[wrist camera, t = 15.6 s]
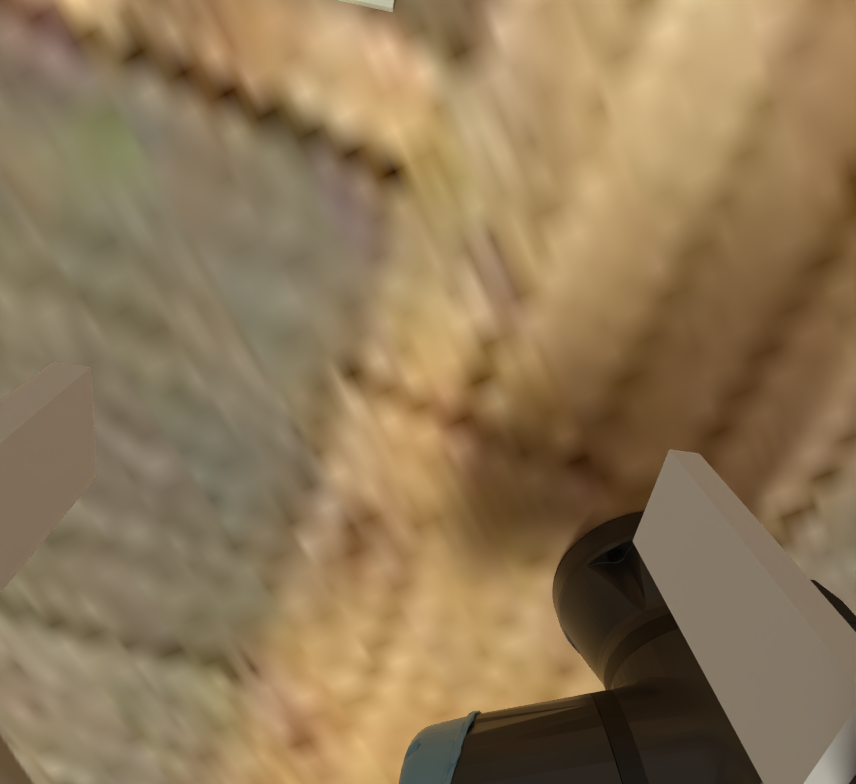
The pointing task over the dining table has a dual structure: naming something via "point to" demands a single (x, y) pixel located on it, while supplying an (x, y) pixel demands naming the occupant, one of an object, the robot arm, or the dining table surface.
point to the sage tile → (374, 4)
